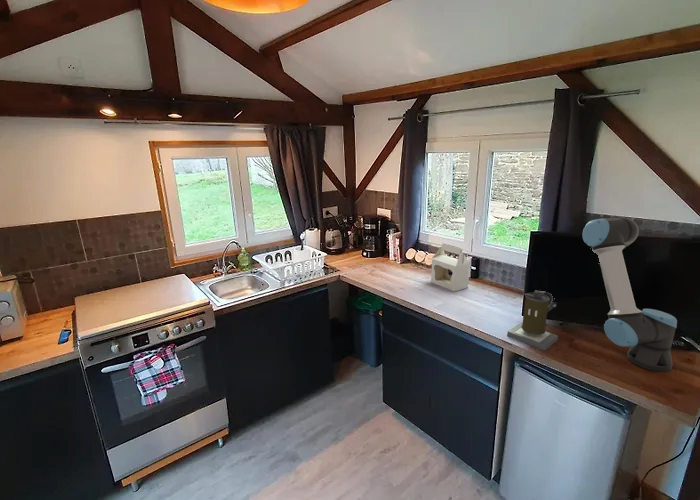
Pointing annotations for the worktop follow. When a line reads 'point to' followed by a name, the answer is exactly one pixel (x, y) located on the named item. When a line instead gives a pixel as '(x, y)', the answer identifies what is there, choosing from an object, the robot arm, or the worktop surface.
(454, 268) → the gable box
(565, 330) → the worktop surface
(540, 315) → the canister
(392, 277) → the worktop surface
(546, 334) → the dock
